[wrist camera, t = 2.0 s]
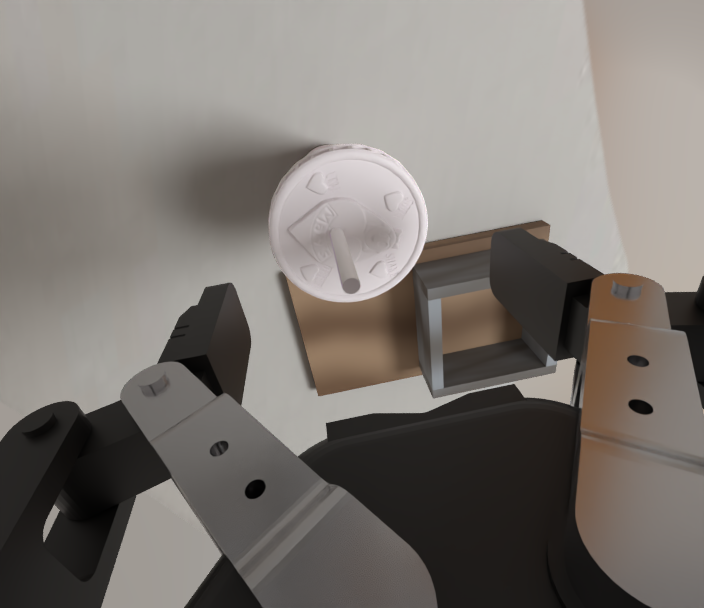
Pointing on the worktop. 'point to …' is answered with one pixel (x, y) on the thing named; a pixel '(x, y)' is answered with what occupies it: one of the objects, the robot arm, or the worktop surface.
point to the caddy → (424, 326)
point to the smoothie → (347, 222)
